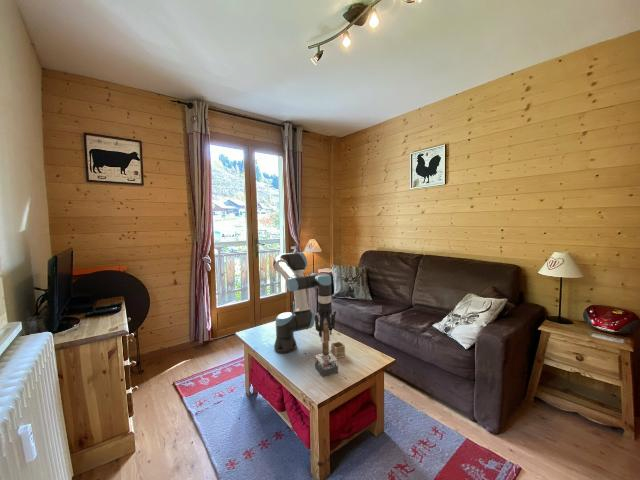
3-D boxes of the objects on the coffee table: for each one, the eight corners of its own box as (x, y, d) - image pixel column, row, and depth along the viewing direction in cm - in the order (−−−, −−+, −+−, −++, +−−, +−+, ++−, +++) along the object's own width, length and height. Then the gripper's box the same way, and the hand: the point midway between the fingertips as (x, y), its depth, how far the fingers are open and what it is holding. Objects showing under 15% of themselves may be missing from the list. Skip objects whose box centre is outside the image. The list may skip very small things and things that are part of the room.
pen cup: (331, 353, 176) (331, 343, 175) (340, 351, 179) (340, 341, 178) (335, 358, 170) (335, 348, 169) (345, 356, 173) (345, 345, 172)
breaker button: (322, 366, 158) (322, 363, 158) (327, 364, 160) (327, 361, 159) (324, 368, 156) (324, 365, 155) (329, 367, 157) (329, 364, 157)
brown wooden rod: (321, 352, 158) (321, 323, 156) (327, 351, 160) (326, 322, 157) (324, 355, 155) (323, 326, 153) (329, 354, 156) (329, 324, 154)
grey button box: (315, 367, 160) (314, 355, 160) (330, 363, 164) (330, 351, 164) (321, 377, 151) (321, 364, 150) (337, 372, 155) (337, 359, 154)
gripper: (313, 306, 147) (314, 347, 150) (340, 301, 153) (341, 340, 156) (308, 301, 153) (309, 341, 156) (334, 297, 160) (335, 335, 163)
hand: (325, 340), depth 156 cm, fingers closed on brown wooden rod, 3 cm apart
